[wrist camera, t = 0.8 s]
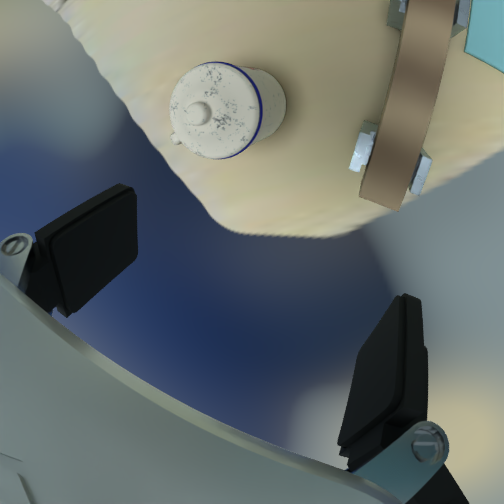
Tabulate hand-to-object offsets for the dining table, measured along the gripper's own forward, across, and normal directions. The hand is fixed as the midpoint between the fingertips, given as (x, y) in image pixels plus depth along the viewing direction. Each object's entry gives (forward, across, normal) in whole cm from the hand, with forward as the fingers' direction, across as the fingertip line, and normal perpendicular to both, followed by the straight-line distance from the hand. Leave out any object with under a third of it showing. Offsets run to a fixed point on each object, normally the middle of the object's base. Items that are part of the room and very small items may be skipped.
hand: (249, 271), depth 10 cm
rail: (+18, -4, -8) cm, 21 cm away
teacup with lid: (+26, +12, 0) cm, 28 cm away
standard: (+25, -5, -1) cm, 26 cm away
